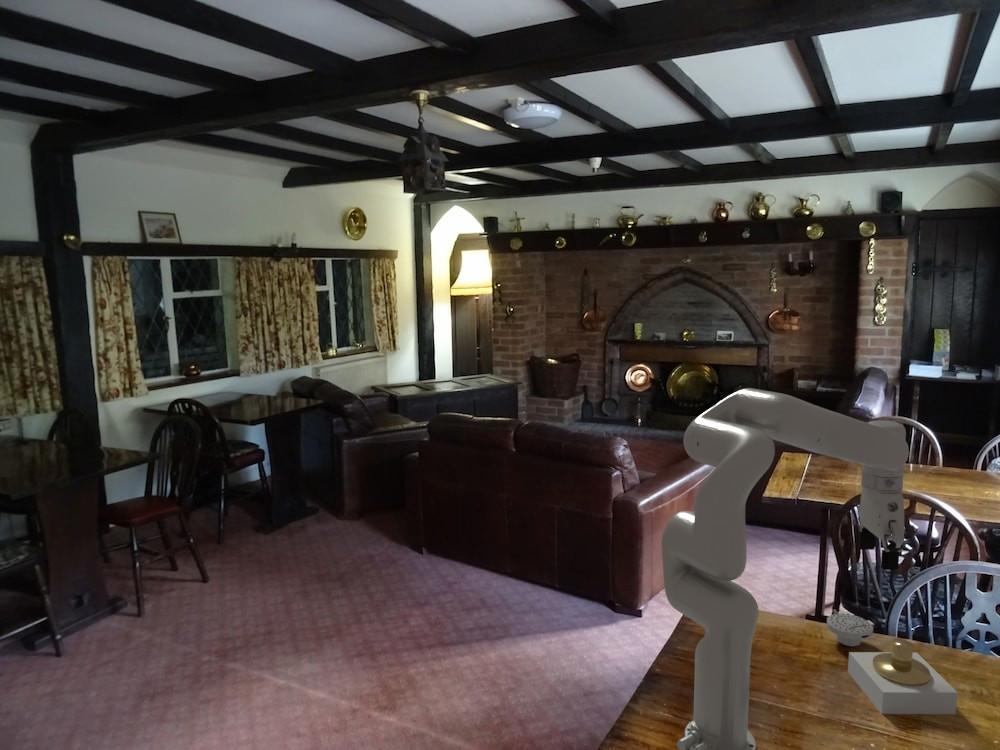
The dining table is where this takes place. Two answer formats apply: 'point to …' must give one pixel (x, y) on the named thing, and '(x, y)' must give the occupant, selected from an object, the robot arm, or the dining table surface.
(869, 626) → the showerhead
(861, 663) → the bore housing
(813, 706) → the dining table surface
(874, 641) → the dining table surface
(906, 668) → the end cover
